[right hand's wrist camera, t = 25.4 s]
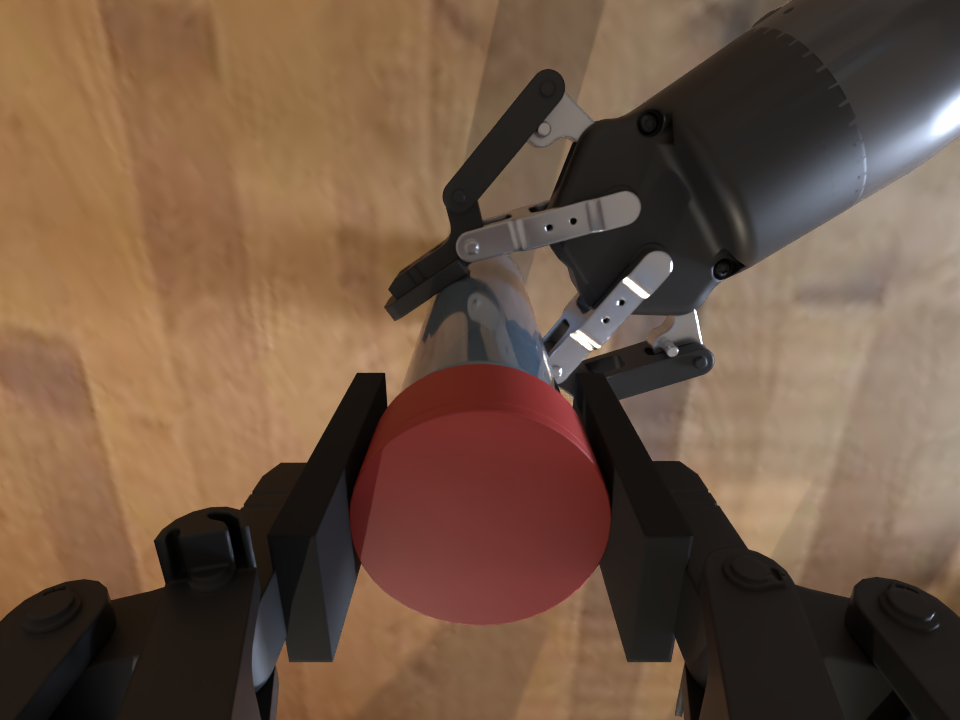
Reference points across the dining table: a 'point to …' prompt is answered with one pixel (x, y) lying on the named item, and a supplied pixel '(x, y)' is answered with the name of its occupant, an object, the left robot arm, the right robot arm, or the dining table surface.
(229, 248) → the dining table surface
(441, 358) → the grey cylinder
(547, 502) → the lid
